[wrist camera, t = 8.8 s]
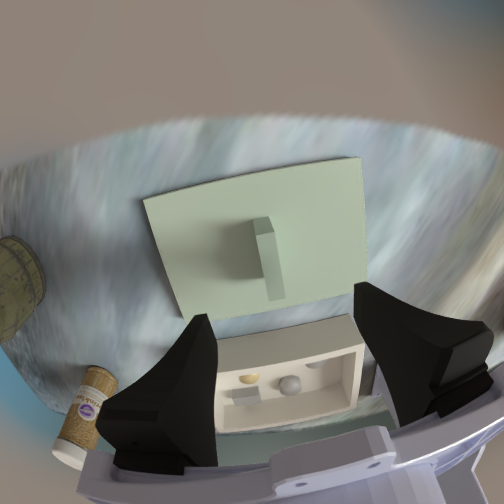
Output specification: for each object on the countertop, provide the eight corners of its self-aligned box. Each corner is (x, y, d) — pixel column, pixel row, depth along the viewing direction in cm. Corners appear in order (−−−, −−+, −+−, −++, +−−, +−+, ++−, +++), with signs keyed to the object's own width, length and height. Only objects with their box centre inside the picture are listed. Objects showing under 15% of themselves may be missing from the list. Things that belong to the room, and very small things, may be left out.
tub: (348, 313, 26) (364, 342, 22) (345, 380, 30) (356, 407, 26) (191, 343, 26) (185, 376, 22) (219, 404, 31) (218, 433, 27)
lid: (352, 155, 20) (382, 162, 16) (360, 280, 25) (382, 310, 20) (149, 195, 21) (126, 212, 16) (188, 314, 25) (180, 350, 21)
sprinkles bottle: (117, 371, 28) (85, 464, 16) (119, 392, 30) (94, 477, 17) (84, 360, 27) (45, 446, 15) (89, 382, 29) (57, 461, 17)
